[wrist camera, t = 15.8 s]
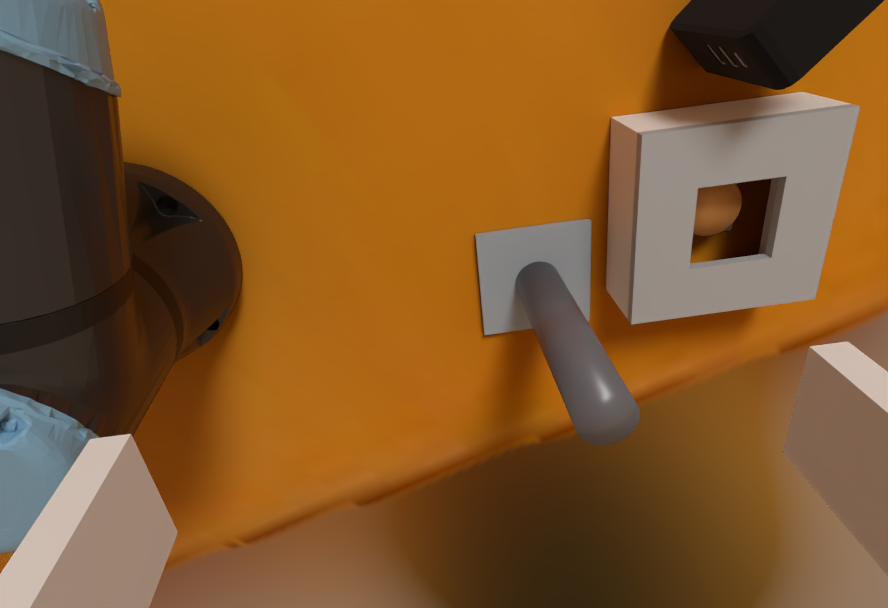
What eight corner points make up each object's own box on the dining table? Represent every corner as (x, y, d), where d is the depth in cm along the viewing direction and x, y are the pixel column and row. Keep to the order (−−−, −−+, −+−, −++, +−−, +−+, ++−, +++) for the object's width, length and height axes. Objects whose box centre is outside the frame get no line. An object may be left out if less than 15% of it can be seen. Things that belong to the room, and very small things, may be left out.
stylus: (516, 304, 47) (575, 449, 32) (514, 264, 45) (575, 399, 31) (559, 298, 47) (637, 440, 32) (559, 258, 45) (641, 390, 31)
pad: (483, 331, 49) (484, 335, 48) (474, 233, 44) (475, 236, 44) (587, 317, 49) (589, 320, 48) (588, 218, 45) (591, 221, 44)
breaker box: (605, 289, 48) (631, 324, 43) (611, 117, 41) (642, 135, 36) (770, 266, 48) (814, 299, 43) (802, 91, 41) (860, 106, 36)
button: (669, 230, 45) (680, 239, 43) (674, 175, 43) (686, 183, 41) (724, 222, 45) (737, 231, 44) (731, 167, 43) (746, 175, 41)
